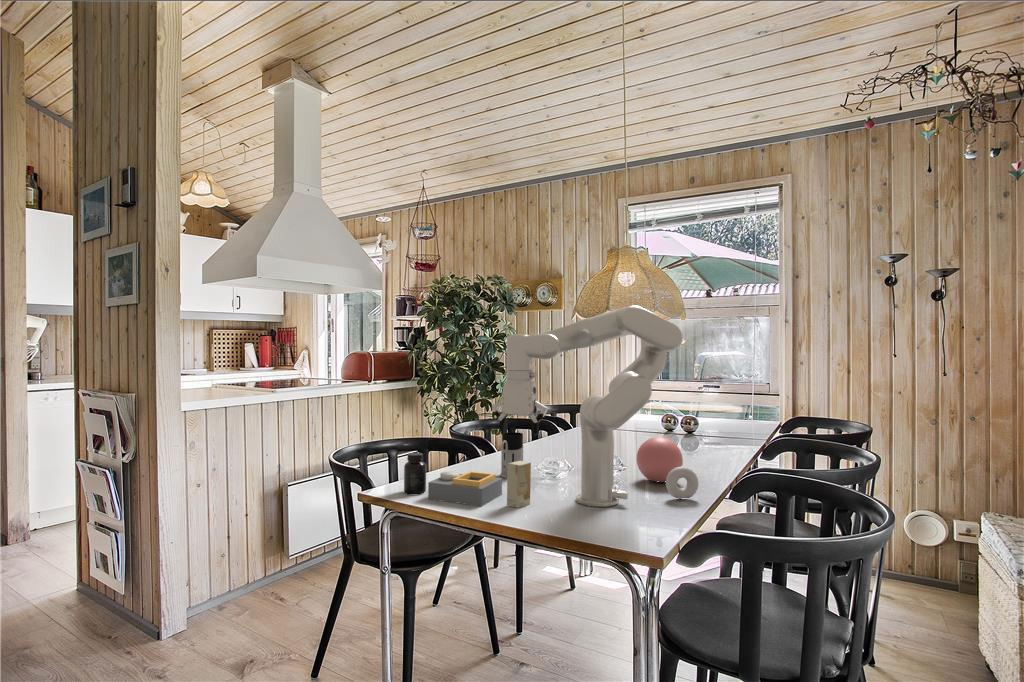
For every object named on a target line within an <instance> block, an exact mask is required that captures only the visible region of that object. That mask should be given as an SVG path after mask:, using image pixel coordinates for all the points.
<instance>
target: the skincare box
mask: <svg viewBox="0 0 1024 682" xmlns="http://www.w3.org/2000/svg"><path fill="white" fill-rule="evenodd" d="M531 468H532V463H531V462H529V461H524V460H523V461H517V462H512V463H508V471H507V478H506V481H507V482H506V506H509V507H514V508H517V509H518V508H521V507H522V508H523V507H524V506H528V505H531V476H532V475H531V474H532V472H531Z"/></svg>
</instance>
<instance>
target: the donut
mask: <svg viewBox="0 0 1024 682" xmlns="http://www.w3.org/2000/svg"><path fill="white" fill-rule="evenodd" d="M680 479H685V481H686V485H685V487H682V488H681V487H679V486H678V482H679V480H680ZM665 487H666V489H667V492H668V494H669V495H670V496H671V497H673V498H674V497H675V498H674V499H676V498H689V499H691V498H692V497H693V496H695V494H696V493H697V491H698V488H699V478H698V476H697V474H696V473H695V472H694V471H693V470H692V469H691V468H689V467H686V466H682V467H676V468H674V469H672V470H671V471H670V472H669V474H668V476H667V478H666V482H665ZM690 497H691V498H690Z"/></svg>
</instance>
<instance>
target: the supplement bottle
mask: <svg viewBox="0 0 1024 682" xmlns="http://www.w3.org/2000/svg"><path fill="white" fill-rule="evenodd" d="M403 477H404V478H403V492H404V494H406V493H407V494H406V495H409V494H418V495H422V494H421V493H423V494H424V492H425V493H426V491H427V464H426V462H424V453H422V452H410V453H409V452H408V454H407V462H406V463H405V464H404V466H403Z"/></svg>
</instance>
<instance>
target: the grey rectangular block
mask: <svg viewBox="0 0 1024 682" xmlns="http://www.w3.org/2000/svg"><path fill="white" fill-rule="evenodd" d="M496 476H497V475H496V473H489V472H478V471H472V470H471V471H468V472H465V473H460V472H459V471H443V472H440V477H438V478H435V479H433V480H431V481H428V483H427V484H428V488H427V489H428V492H427V493H428V494H427V496H428V497H427V499H428V498H429V499H428V500H432V499H435V500H434V501H439V500H442V501H441V502H447V501H451V502H450V503H454V502H459V503H458V504H461V503H465V504H464V505H469V504H472V505H471V506H476V505H478V506H477V507H483V506H484V505H487V504H488V503H490V502H492V501H493V500H496V499H497V498H499V497H500V496H502V495H503V477H496ZM486 503H487V504H486Z"/></svg>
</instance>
